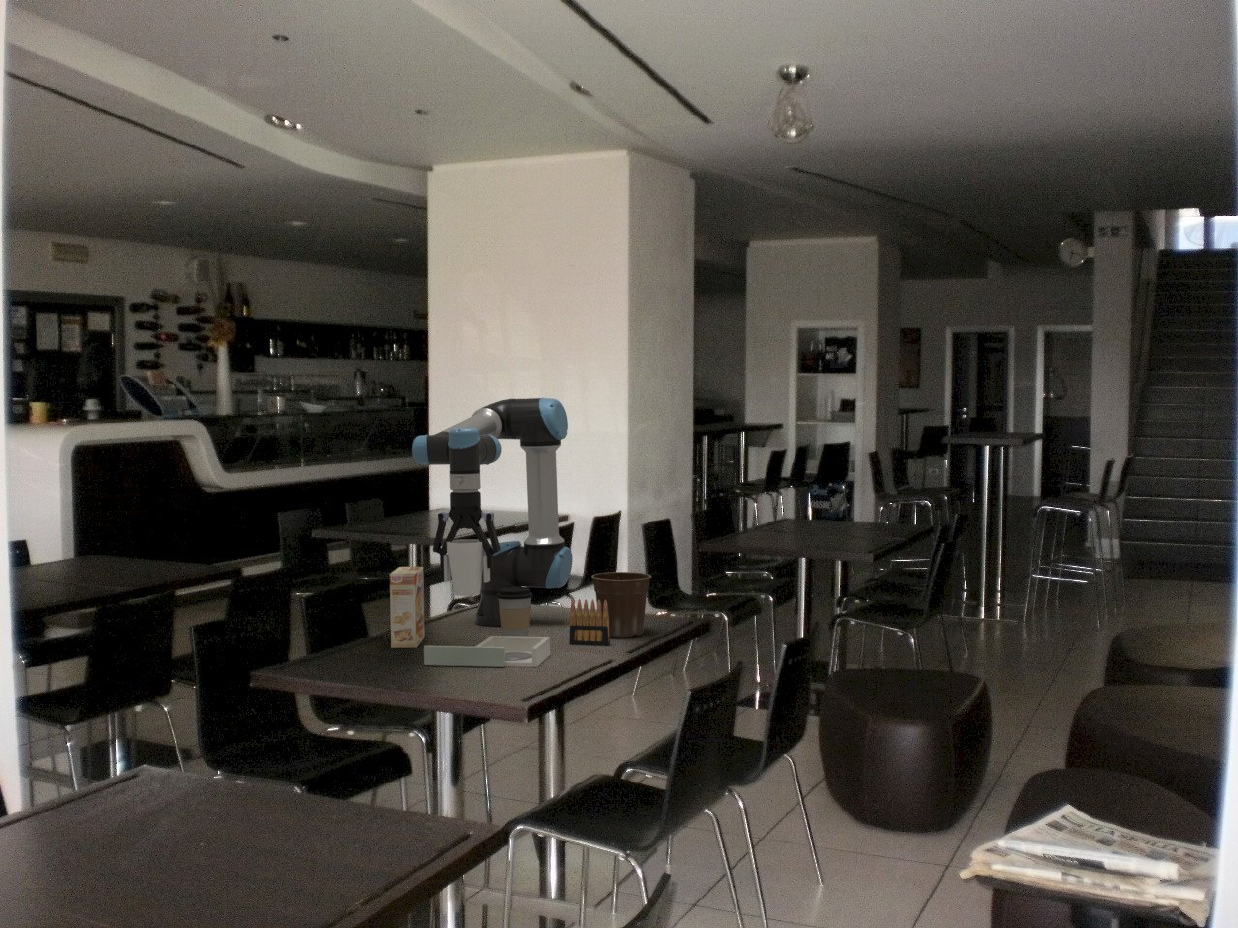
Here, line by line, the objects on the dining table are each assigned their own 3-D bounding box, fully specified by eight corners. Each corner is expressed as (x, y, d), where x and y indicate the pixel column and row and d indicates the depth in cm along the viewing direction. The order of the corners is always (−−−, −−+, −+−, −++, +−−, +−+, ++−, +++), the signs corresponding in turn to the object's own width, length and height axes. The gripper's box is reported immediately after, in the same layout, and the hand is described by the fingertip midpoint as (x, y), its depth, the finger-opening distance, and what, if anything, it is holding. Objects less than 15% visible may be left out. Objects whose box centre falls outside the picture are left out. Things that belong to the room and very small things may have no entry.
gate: (425, 663, 301) (425, 645, 301) (505, 665, 298) (505, 647, 298) (424, 664, 300) (423, 646, 300) (504, 666, 297) (503, 648, 297)
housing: (491, 653, 314) (490, 636, 313) (550, 654, 311) (549, 637, 311) (474, 665, 300) (474, 647, 299) (536, 666, 297) (536, 648, 297)
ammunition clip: (610, 644, 323) (609, 599, 323) (608, 646, 321) (608, 600, 321) (571, 643, 326) (570, 598, 325) (569, 644, 324) (568, 599, 323)
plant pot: (649, 628, 346) (649, 570, 345) (654, 639, 330) (653, 579, 329) (591, 629, 345) (590, 572, 344) (593, 640, 329) (592, 580, 328)
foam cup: (450, 597, 300) (449, 544, 299) (445, 592, 309) (444, 540, 308) (489, 595, 302) (488, 542, 302) (483, 590, 311) (482, 538, 311)
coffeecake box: (417, 647, 323) (415, 573, 322) (390, 648, 323) (388, 573, 322) (425, 636, 338) (424, 565, 337) (399, 637, 338) (398, 566, 337)
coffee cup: (536, 642, 327) (535, 586, 326) (530, 649, 318) (529, 591, 317) (501, 642, 328) (500, 586, 327) (494, 649, 319) (492, 591, 318)
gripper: (417, 491, 303) (419, 582, 304) (504, 491, 299) (505, 584, 300) (428, 489, 310) (430, 578, 311) (512, 489, 306) (514, 579, 307)
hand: (467, 581), depth 306 cm, fingers closed on foam cup, 9 cm apart
